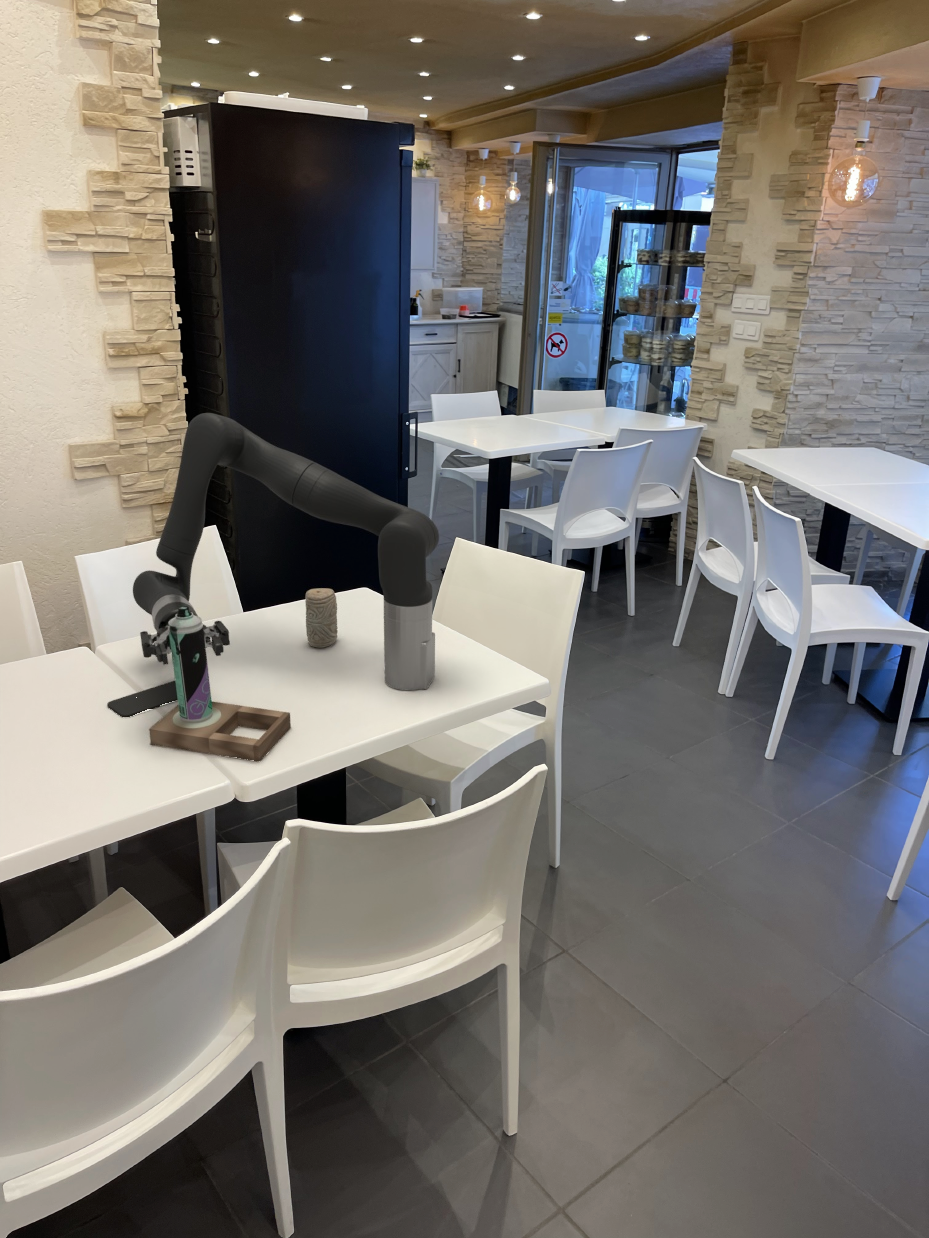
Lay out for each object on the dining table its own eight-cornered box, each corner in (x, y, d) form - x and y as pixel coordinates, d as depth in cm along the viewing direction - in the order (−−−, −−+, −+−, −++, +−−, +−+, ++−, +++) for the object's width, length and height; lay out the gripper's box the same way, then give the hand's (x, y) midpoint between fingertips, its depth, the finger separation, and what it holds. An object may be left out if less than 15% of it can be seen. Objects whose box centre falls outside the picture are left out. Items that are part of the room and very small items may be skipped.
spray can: (204, 724, 152) (191, 614, 144) (174, 721, 152) (159, 612, 145) (218, 709, 157) (206, 602, 149) (188, 707, 157) (175, 600, 150)
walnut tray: (290, 727, 158) (289, 711, 157) (259, 762, 147) (258, 745, 146) (188, 712, 162) (186, 696, 161) (150, 744, 151) (148, 728, 150)
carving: (301, 648, 190) (298, 595, 185) (316, 635, 196) (314, 583, 192) (328, 652, 188) (326, 598, 183) (343, 639, 195) (341, 587, 190)
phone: (199, 691, 169) (124, 716, 159) (199, 695, 170) (124, 720, 159) (178, 678, 174) (104, 702, 164) (179, 682, 174) (105, 706, 164)
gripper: (131, 606, 157) (144, 640, 144) (214, 596, 163) (234, 627, 150) (136, 646, 160) (149, 682, 147) (217, 634, 166) (237, 668, 152)
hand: (192, 654), depth 148 cm, fingers open, 8 cm apart
